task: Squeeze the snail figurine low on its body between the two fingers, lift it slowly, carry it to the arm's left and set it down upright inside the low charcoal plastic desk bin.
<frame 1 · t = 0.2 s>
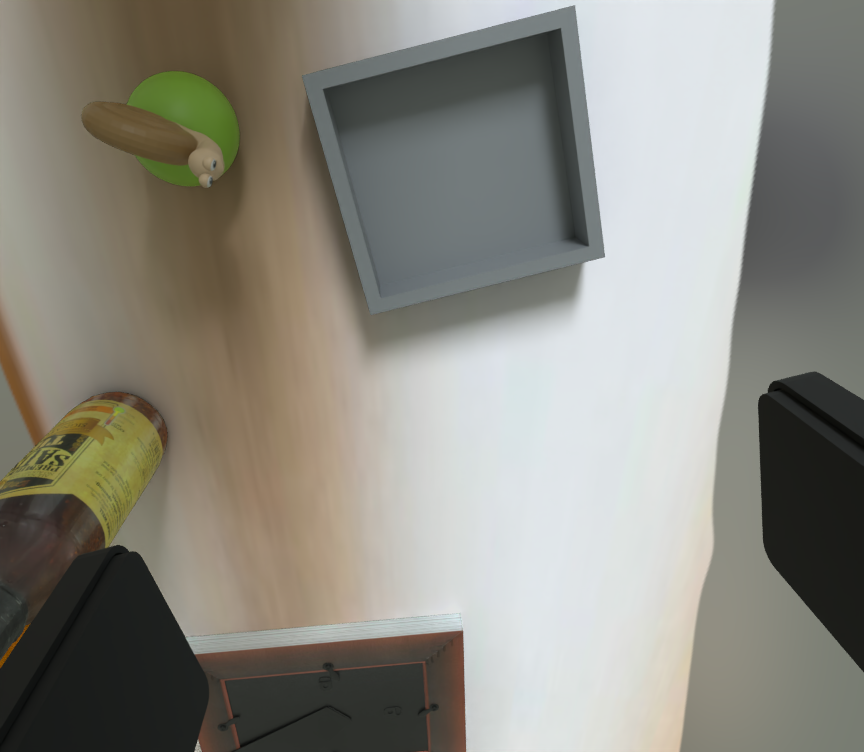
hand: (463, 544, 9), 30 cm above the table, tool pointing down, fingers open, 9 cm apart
picture frame: (334, 692, 53), on the table
sauce bottle: (122, 429, 42), on the table
snail figurine: (207, 131, 35), on the table
bin: (456, 166, 36), on the table
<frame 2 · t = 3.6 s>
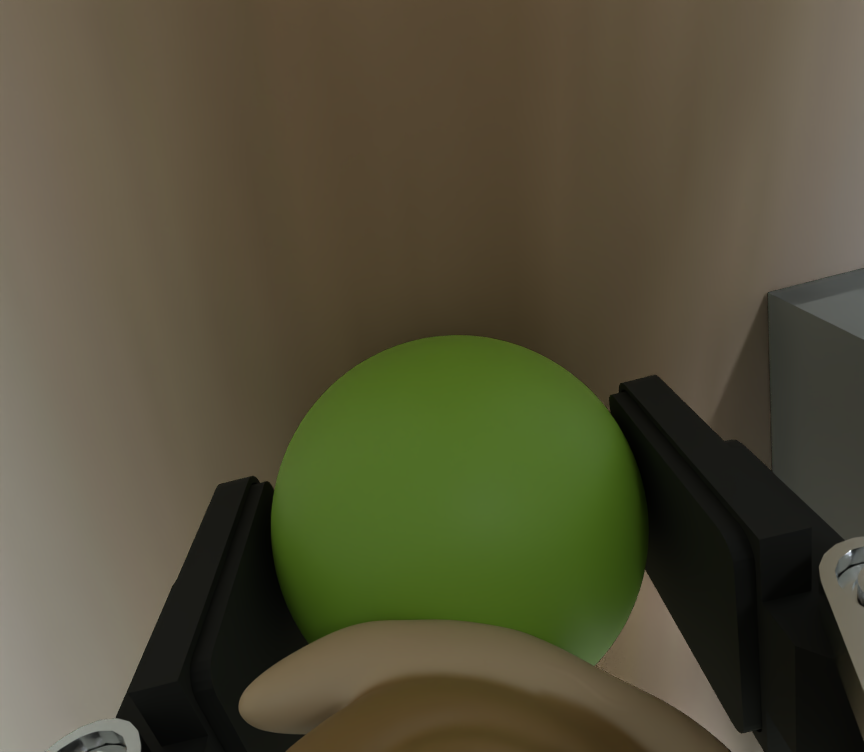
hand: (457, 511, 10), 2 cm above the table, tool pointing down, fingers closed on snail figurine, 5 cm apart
snail figurine: (464, 431, 12), on the table, touching gripper
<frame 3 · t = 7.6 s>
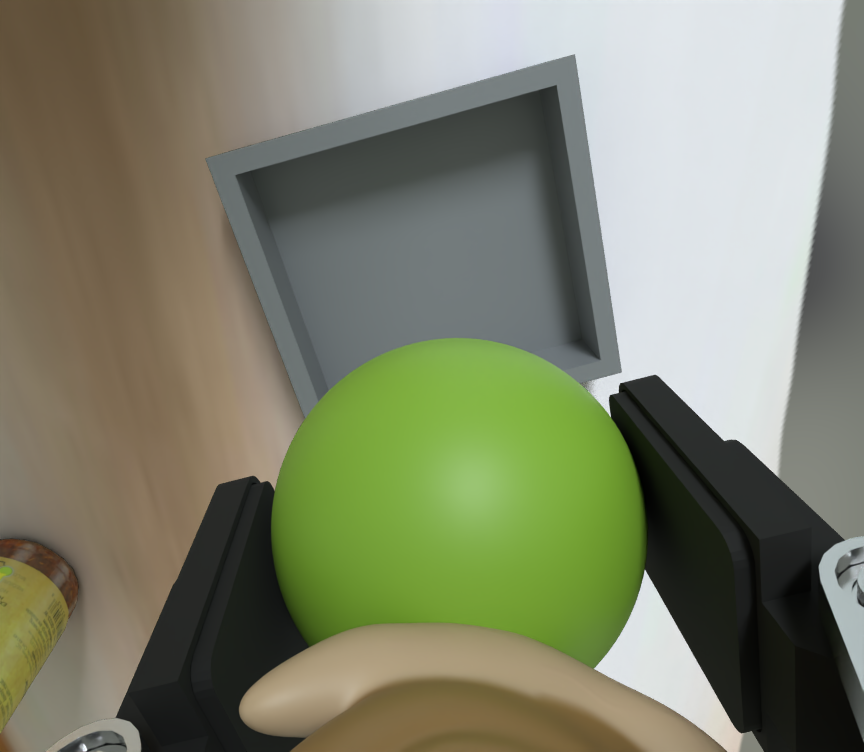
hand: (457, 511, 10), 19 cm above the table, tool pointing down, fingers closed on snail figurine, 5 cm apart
sauce bottle: (23, 578, 34), on the table
snail figurine: (464, 433, 12), point 17 cm above the table, touching gripper
bin: (426, 255, 28), on the table
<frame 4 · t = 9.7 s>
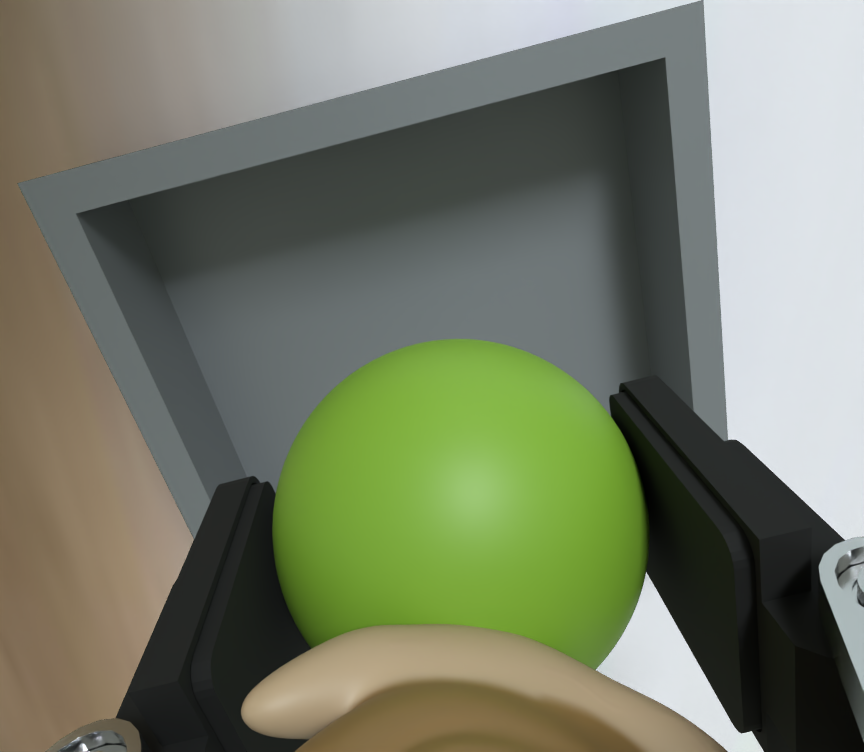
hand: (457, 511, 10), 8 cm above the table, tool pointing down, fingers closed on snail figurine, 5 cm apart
snail figurine: (465, 434, 12), point 6 cm above the table, touching gripper
bin: (423, 332, 18), on the table
when the fingers open (4 cm above the table, at t = 11.5 s): snail figurine stays where it is, resting on bin.
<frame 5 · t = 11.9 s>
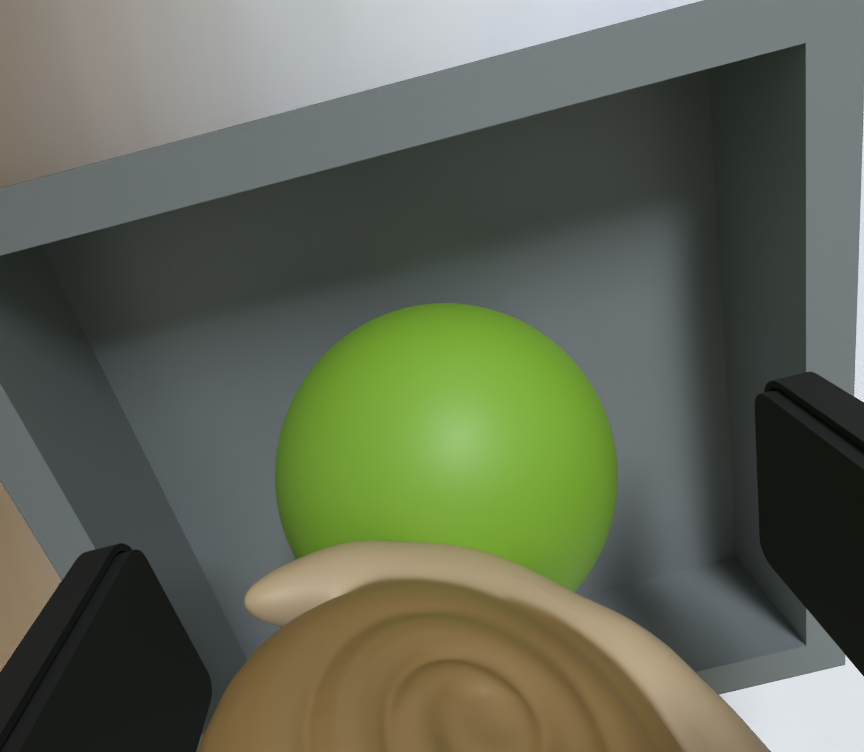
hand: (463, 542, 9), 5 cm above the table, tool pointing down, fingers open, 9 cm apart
snail figurine: (456, 401, 13), point 1 cm above the table, touching bin
bin: (437, 404, 14), on the table
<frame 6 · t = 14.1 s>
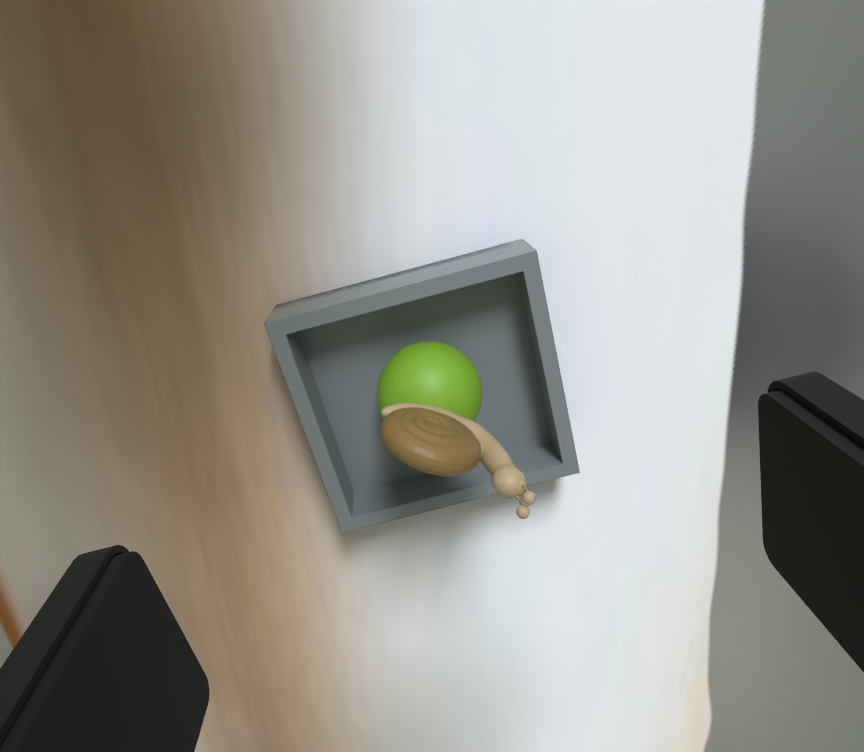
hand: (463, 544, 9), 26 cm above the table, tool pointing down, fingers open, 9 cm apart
snail figurine: (434, 375, 35), point 1 cm above the table, touching bin
bin: (428, 378, 36), on the table
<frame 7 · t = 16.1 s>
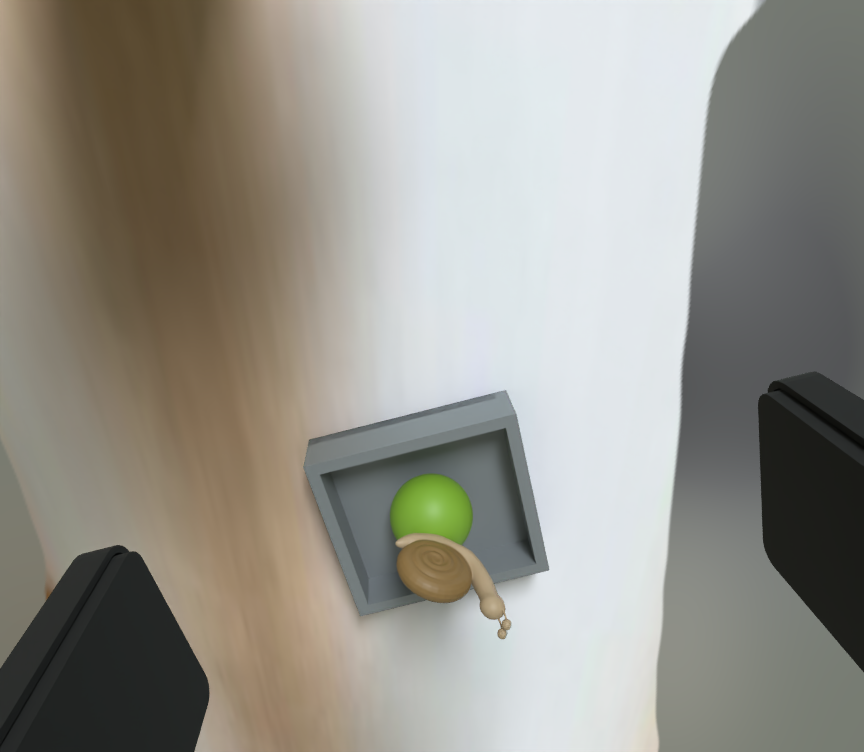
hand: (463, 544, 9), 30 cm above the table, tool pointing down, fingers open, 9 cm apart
snail figurine: (435, 492, 44), point 1 cm above the table, touching bin
bin: (429, 491, 45), on the table
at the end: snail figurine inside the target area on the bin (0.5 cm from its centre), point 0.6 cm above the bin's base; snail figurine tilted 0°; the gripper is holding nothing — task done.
